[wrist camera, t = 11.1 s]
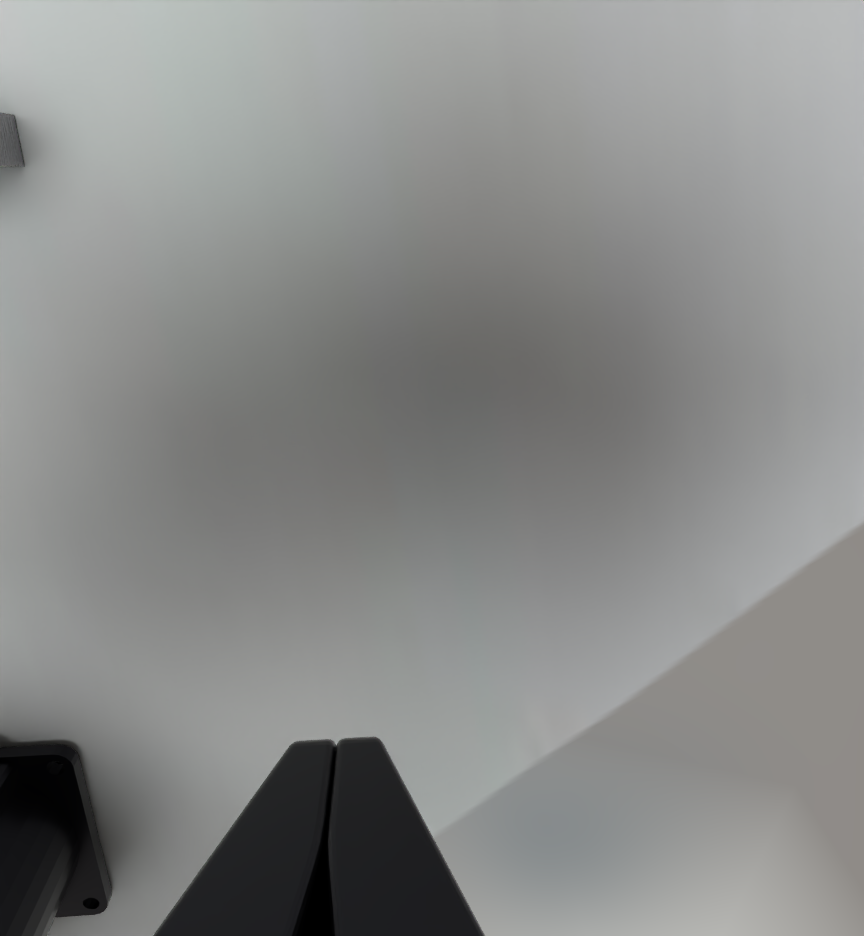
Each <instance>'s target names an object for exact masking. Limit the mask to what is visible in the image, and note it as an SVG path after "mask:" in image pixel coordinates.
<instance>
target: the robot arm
mask: <svg viewBox="0 0 864 936" xmlns="http://www.w3.org/2000/svg"><path fill="white" fill-rule="evenodd" d="M54 761H57V762H60V763H62V764H63V765H61V764H57V763H56V762H54ZM111 895H112V890H111V886H110V882H109V878H108V874H107V869H106V865H105V861H104V857H103V853H102V849H101V845H100V841H99V837H98V833H97V829H96V825H95V820H94V816H93V812H92V808H91V804H90V800H89V796H88V792H87V788H86V784H85V780H84V775H83V771H82V767H81V763H80V759H79V756H78V754H77V752H76V751H75V750H74V749H72V748H71V747H69V746H66V745H59V744H56V745H38V746H21V747H3V748H0V936H47V934H48V932H49V929H50V927H51V925H52V922H53V920H54V918H55V917H67V916H81V915H94V914H99V913H101V912H103V911H105V909H106V908H107V906H108V903H109V901H110V898H111ZM153 936H485V935H484V933H483V931H482V930H481V927H480V926H479V924H478V922H477V920H476V918H475V916H474V914H473V912H472V911H471V909H470V907H469V905H468V903H467V901H466V899H465V897H464V895H463V893H462V892H461V890H460V888H459V886H458V884H457V882H456V880H455V878H454V876H453V875H452V873H451V871H450V869H449V868H448V865H447V863H446V861H445V860H444V858H443V856H442V854H441V852H440V850H439V848H438V846H437V845H436V842H435V841H434V839H433V837H432V835H431V833H430V831H429V829H428V827H427V825H426V824H425V822H424V820H423V818H422V816H421V814H420V812H419V810H418V808H417V807H416V805H415V803H414V801H413V799H412V797H411V795H410V793H409V791H408V790H407V788H406V786H405V784H404V782H403V780H402V778H401V776H400V774H399V773H398V771H397V769H396V767H395V765H394V763H393V761H392V759H391V757H390V756H389V754H388V752H387V750H386V748H385V746H384V744H383V743H382V741H381V740H380V739H379V738H377V737H361V738H344V739H341V740H340V741H339V742H338V744H337V746H336V744H335V743H334V741H332V740H329V739H325V740H307V741H297V742H294V743H293V744H291V745H290V746H289V748H288V749H287V750H286V752H285V753H284V755H283V756H282V757H281V759H280V760H279V762H278V763H277V764H276V766H275V767H274V768H273V770H272V771H271V773H270V774H269V775H268V777H267V778H266V780H265V781H264V782H263V784H262V785H261V787H260V788H259V789H258V791H257V792H256V794H255V795H254V796H253V798H252V799H251V800H250V802H249V803H248V805H247V806H246V807H245V809H244V810H243V812H242V813H241V814H240V816H239V817H238V819H237V820H236V821H235V823H234V824H233V825H232V827H231V828H230V830H229V831H228V832H227V834H226V835H225V837H224V838H223V839H222V841H221V842H220V844H219V845H218V846H217V848H216V849H215V851H214V852H213V853H212V855H211V856H210V857H209V859H208V860H207V862H206V863H205V864H204V866H203V867H202V869H201V870H200V871H199V873H198V874H197V876H196V877H195V878H194V880H193V881H192V882H191V884H190V885H189V887H188V888H187V889H186V891H185V892H184V894H183V895H182V896H181V898H180V899H179V901H178V902H177V903H176V905H175V906H174V908H173V909H172V910H171V912H170V913H169V914H168V916H167V917H166V919H165V920H164V921H163V923H162V924H161V926H160V927H159V928H158V930H157V931H156V933H155V934H154V935H153Z"/></svg>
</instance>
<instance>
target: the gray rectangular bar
mask: <svg viewBox="0 0 864 936" xmlns="http://www.w3.org/2000/svg"><path fill="white" fill-rule="evenodd" d="M19 166H24V163H23V158H22V153H21V148H20V143H19V138H18V133H17V128H16V123H15V118H14V115H11V114H5V113H0V167H19Z"/></svg>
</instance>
